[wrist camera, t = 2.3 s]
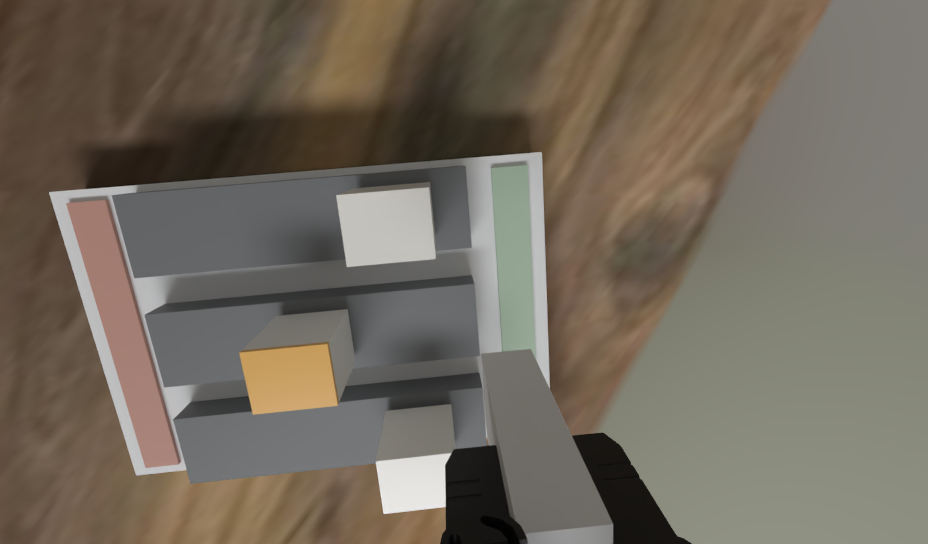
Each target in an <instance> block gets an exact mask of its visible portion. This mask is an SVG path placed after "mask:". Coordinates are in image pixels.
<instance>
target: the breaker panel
mask: <svg viewBox="0 0 928 544" xmlns="http://www.w3.org/2000/svg"><path fill="white" fill-rule="evenodd" d="M424 182H430V187H431V198H432V208H433V219H434V229H435V239H436V259H431V260H420V261H409V262H398V263H387V264H376V265H365V266H354V267H347V265H346V258H345V252H344V245H343V238H342V231H341V225H340V218H339V211H338V205H337V198H336V195H338V194H341V193H343V192H346V191H349V190H351V189H354V188H364V187H376V186H388V185H400V184H412V183H424ZM49 194H50V197H51V201H52V204H53V207H54V210H55V214H56V217H57V220H58V223H59V226H60V230H61V233H62V236H63V239H64V243H65V246H66V249H67V252H68V256H69V259H70V262H71V265H72V269H73V272H74V275H75V278H76V282H77V285H78V288H79V291H80V295H81V298H82V301H83V304H84V308H85V311H86V314H87V317H88V321H89V324H90V327H91V330H92V334H93V337H94V340H95V343H96V347H97V350H98V353H99V356H100V360H101V363H102V366H103V369H104V372H105V376H106V379H107V382H108V385H109V389H110V392H111V395H112V398H113V402H114V405H115V408H116V411H117V415H118V418H119V421H120V424H121V428H122V431H123V434H124V437H125V441H126V444H127V447H128V450H129V454H130V457H131V460H132V463H133V467H134V470H135V473H136V475H145V474H154V473H164V472H173V471H182V470H187V473H188V476H189V480H190V484H192V483H201V482H210V481H220V480H229V479H238V478H247V477H256V476H265V475H274V474H283V473H292V472H301V471H310V470H320V469H329V468H338V467H347V466H356V465H365V464H374V463H376V458H377V453H378V447H379V442H380V437H381V432H382V427H383V422H384V416H385V411H389V410H399V409H408V408H418V407H427V406H437V405H446V404H451V406H452V416H453V427H454V437H455V447H456V449H461V448H471V447H481V446H487V441H486V437H487V427H486V413H485V400H484V387H483V373H482V360H481V354H482V353H493V352H504V351H514V350H525V349H531V350H532V352H533V354H534V357H535V359H536V361H537V363H538V365H539V367H540V369H541V371H542V374H543V376H544V378H545V380H546V382H547V384H548V386H549V388H550V379H549V349H548V320H547V290H546V261H545V231H544V202H543V172H542V152H535V153H522V154H510V155H497V156H485V157H473V158H461V159H448V160H436V161H424V162H412V163H399V164H387V165H375V166H363V167H350V168H338V169H326V170H314V171H301V172H289V173H277V174H265V175H252V176H240V177H228V178H216V179H203V180H191V181H179V182H167V183H154V184H142V185H130V186H118V187H105V188H93V189H81V190H69V191H58V192H49ZM344 309H348V315H349V321H350V328H351V334H352V341H353V348H354V354H355V363H354V366H353V368H352V371H351V374H350V376H349V379H348V381H347V384H346V386H345V389H344V391H343V394H342V397H341V399H340V402H339V404H338V406H332V407H322V408H313V409H303V410H294V411H284V412H274V413H265V414H255V415H253V413H252V408H251V404H250V399H249V395H248V390H247V386H246V381H245V377H244V372H243V368H242V363H241V359H240V354H239V352H240V351H241V350H242V349H243V348H244V347H245V346H246V345H247V344H248V343H249V342H250V341H251V340H252V339H253V338H254V337H255V336H256V335H258V334H259V333H260V332H261V331H262V330H263V329H264V328H265V327H266V326H267V325H268V324H269V323H270V322H271V321H272V320H273V319H274V318H275V317H276V316H281V315H291V314H302V313H312V312H323V311H333V310H344Z"/></svg>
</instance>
